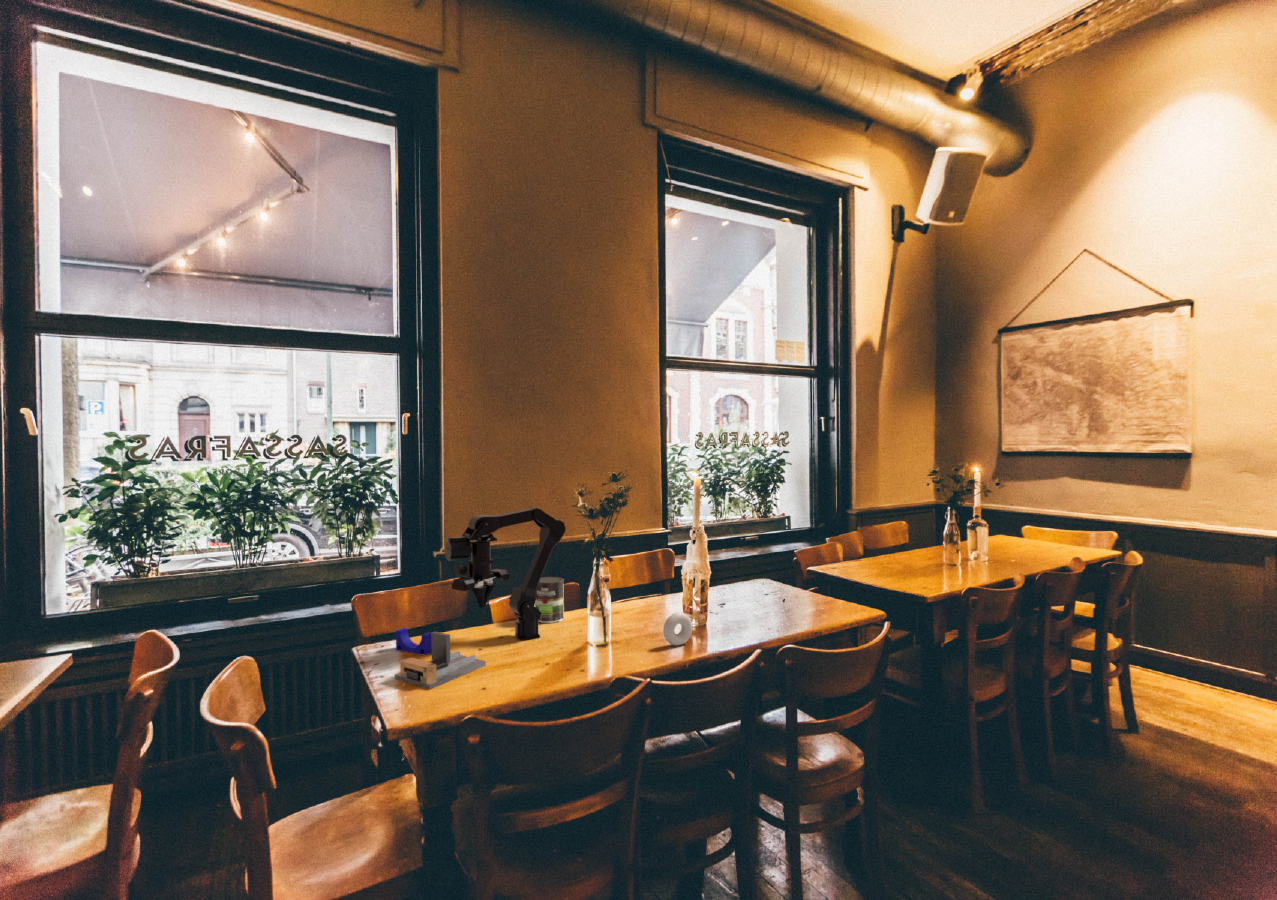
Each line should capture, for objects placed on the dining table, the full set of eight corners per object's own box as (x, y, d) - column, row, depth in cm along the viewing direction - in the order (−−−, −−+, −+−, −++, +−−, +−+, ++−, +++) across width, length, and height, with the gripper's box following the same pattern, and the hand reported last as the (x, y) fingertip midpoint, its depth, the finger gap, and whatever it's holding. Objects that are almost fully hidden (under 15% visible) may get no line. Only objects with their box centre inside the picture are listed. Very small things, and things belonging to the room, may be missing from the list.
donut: (667, 649, 178) (666, 616, 177) (661, 646, 180) (660, 613, 180) (694, 643, 183) (694, 611, 182) (688, 640, 186) (687, 608, 185)
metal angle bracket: (435, 664, 164) (434, 631, 164) (450, 667, 161) (449, 634, 161) (404, 676, 156) (403, 641, 156) (419, 680, 153) (418, 645, 153)
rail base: (451, 656, 174) (451, 639, 174) (485, 665, 167) (485, 647, 167) (394, 678, 158) (394, 660, 158) (430, 689, 151) (429, 669, 151)
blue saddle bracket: (437, 650, 180) (436, 631, 180) (425, 655, 176) (425, 635, 176) (407, 645, 185) (407, 626, 185) (396, 650, 181) (395, 630, 181)
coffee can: (559, 624, 205) (558, 583, 205) (530, 623, 207) (530, 582, 207) (568, 615, 216) (567, 576, 215) (540, 614, 217) (540, 576, 217)
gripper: (484, 550, 195) (485, 597, 195) (438, 559, 179) (439, 611, 179) (509, 552, 189) (510, 601, 189) (464, 562, 173) (465, 616, 173)
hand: (481, 607), depth 183 cm, fingers closed
